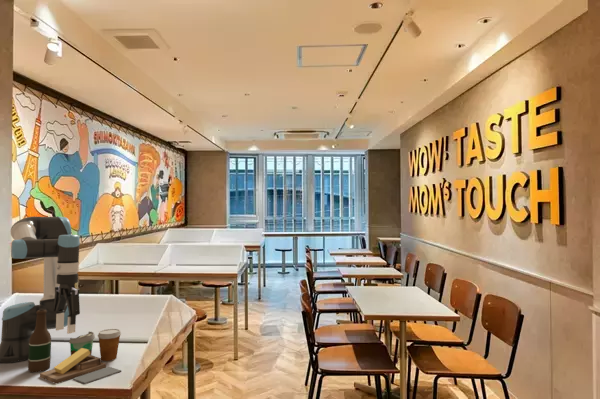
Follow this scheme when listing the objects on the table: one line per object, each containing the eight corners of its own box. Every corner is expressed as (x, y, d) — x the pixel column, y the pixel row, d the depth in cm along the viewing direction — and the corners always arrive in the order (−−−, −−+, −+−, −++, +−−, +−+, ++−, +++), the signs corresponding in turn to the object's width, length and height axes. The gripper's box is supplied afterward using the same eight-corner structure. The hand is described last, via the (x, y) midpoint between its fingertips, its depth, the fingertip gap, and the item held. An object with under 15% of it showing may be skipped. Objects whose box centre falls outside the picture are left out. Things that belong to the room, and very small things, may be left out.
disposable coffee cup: (104, 364, 171) (105, 335, 171) (92, 359, 176) (93, 332, 177) (125, 357, 179) (125, 330, 180) (112, 353, 184) (113, 327, 185)
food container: (80, 363, 172) (81, 339, 172) (68, 362, 173) (69, 338, 173) (100, 354, 184) (101, 331, 184) (88, 353, 185) (89, 331, 186)
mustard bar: (53, 372, 157) (54, 354, 158) (82, 364, 167) (83, 347, 168) (60, 374, 154) (61, 356, 155) (89, 366, 164) (90, 349, 165)
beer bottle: (29, 367, 166) (32, 309, 167) (51, 365, 169) (54, 307, 171) (25, 374, 159) (28, 312, 160) (48, 371, 162) (50, 311, 163)
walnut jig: (39, 377, 156) (40, 366, 156) (89, 362, 173) (89, 352, 173) (56, 383, 150) (56, 372, 150) (106, 367, 167) (106, 357, 167)
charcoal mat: (73, 379, 154) (73, 378, 154) (109, 367, 166) (109, 366, 166) (84, 384, 149) (84, 382, 149) (121, 371, 162) (121, 370, 162)
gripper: (44, 272, 162) (41, 329, 161) (72, 276, 152) (70, 337, 150) (63, 270, 169) (61, 325, 167) (91, 274, 158) (89, 332, 157)
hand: (65, 331), depth 159 cm, fingers open, 8 cm apart
